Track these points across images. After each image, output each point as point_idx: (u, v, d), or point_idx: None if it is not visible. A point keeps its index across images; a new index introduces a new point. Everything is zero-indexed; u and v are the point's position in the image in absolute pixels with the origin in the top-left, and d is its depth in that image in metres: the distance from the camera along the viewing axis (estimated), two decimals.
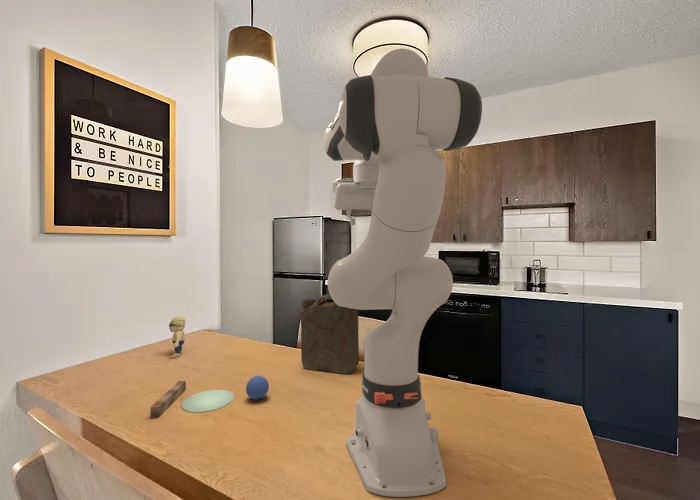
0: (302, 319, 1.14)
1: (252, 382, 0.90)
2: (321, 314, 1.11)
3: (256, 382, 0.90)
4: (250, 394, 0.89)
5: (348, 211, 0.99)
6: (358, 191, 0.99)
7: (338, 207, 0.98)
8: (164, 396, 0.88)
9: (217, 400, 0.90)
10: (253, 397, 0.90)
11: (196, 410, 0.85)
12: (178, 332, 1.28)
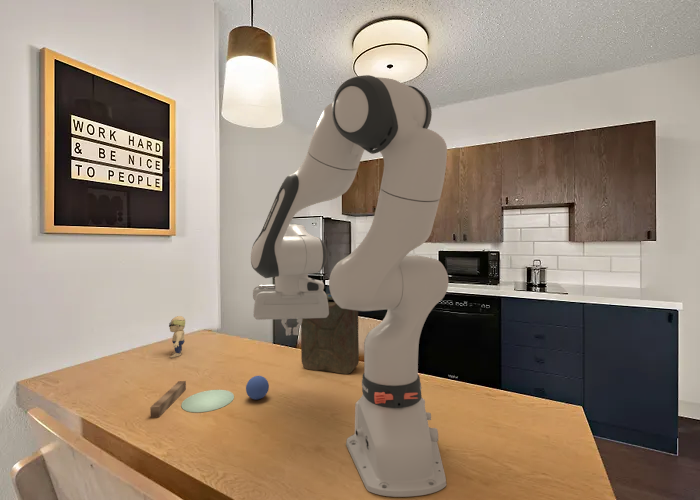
0: None
1: (252, 382, 0.90)
2: None
3: (256, 382, 0.90)
4: (250, 394, 0.89)
5: (283, 321, 0.91)
6: (280, 300, 0.91)
7: (257, 318, 0.90)
8: (164, 396, 0.88)
9: (217, 400, 0.90)
10: (253, 397, 0.90)
11: (196, 410, 0.85)
12: (178, 332, 1.28)
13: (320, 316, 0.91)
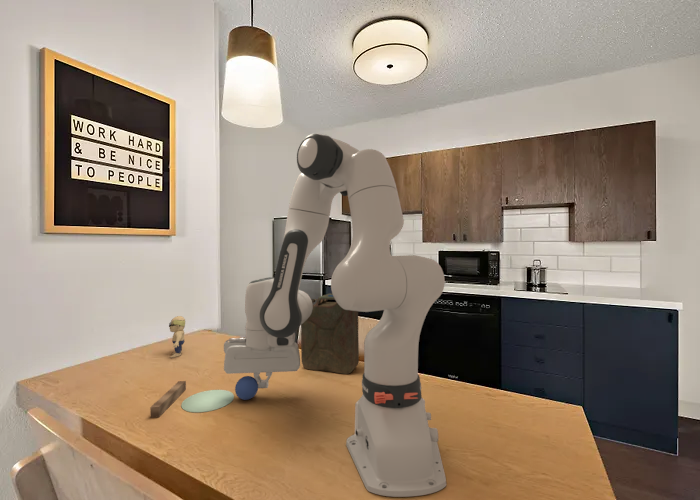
0: None
1: (237, 386, 0.90)
2: (321, 314, 1.11)
3: (240, 383, 0.90)
4: (242, 396, 0.89)
5: (255, 374, 0.92)
6: (250, 354, 0.91)
7: (227, 372, 0.90)
8: (164, 396, 0.88)
9: (217, 400, 0.90)
10: (246, 397, 0.89)
11: (196, 410, 0.85)
12: (178, 332, 1.28)
13: (290, 370, 0.91)
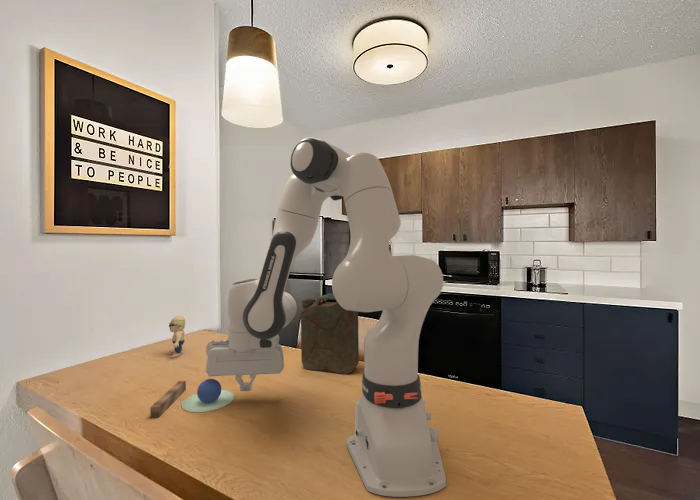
0: (302, 319, 1.14)
1: (216, 399, 0.89)
2: (321, 314, 1.11)
3: (212, 401, 0.89)
4: (212, 391, 0.88)
5: (237, 377, 0.90)
6: (233, 356, 0.90)
7: (210, 375, 0.89)
8: (164, 396, 0.88)
9: (217, 400, 0.90)
10: (207, 390, 0.88)
11: (196, 410, 0.85)
12: (178, 332, 1.28)
13: (274, 372, 0.91)
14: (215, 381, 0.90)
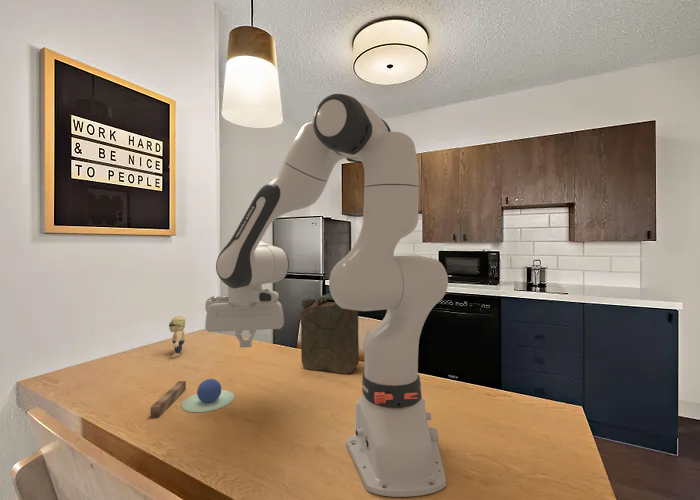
0: (302, 319, 1.14)
1: (216, 399, 0.89)
2: (321, 314, 1.11)
3: (212, 401, 0.89)
4: (212, 391, 0.88)
5: (237, 333, 0.90)
6: (232, 311, 0.89)
7: (209, 330, 0.89)
8: (164, 396, 0.88)
9: (217, 400, 0.90)
10: (207, 390, 0.88)
11: (196, 410, 0.85)
12: (178, 332, 1.28)
13: (274, 327, 0.90)
14: (215, 381, 0.90)
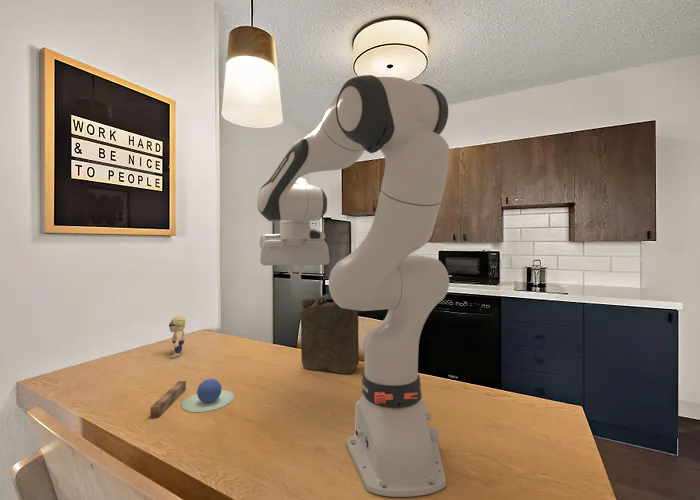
0: (302, 319, 1.14)
1: (216, 399, 0.89)
2: (321, 314, 1.11)
3: (212, 401, 0.89)
4: (212, 391, 0.88)
5: (288, 267, 0.99)
6: (284, 247, 0.99)
7: (263, 264, 0.98)
8: (164, 396, 0.88)
9: (217, 400, 0.90)
10: (207, 390, 0.88)
11: (196, 410, 0.85)
12: (178, 332, 1.28)
13: (321, 263, 0.99)
14: (215, 381, 0.90)
